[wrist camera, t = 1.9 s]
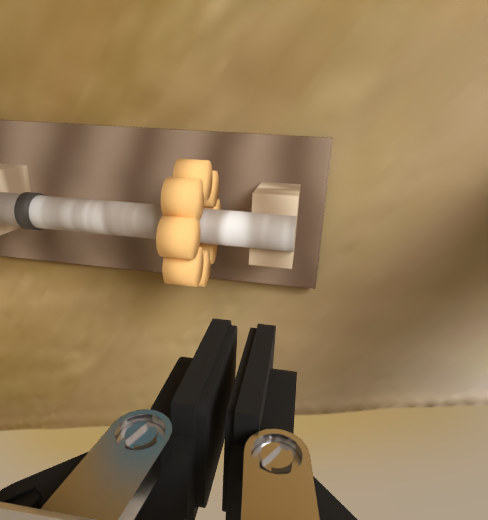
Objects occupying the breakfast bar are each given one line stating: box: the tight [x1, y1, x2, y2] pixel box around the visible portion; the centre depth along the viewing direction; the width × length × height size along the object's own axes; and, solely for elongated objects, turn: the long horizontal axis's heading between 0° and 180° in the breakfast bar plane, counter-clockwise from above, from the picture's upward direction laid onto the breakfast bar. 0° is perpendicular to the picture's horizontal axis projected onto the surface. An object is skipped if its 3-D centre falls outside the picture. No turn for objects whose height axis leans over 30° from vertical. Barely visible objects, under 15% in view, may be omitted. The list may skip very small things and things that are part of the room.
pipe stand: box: [0, 120, 333, 289], centre depth 31 cm, size 30×12×8 cm, turn 87°
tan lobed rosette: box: [156, 159, 221, 287], centre depth 28 cm, size 2×9×9 cm, turn 177°
